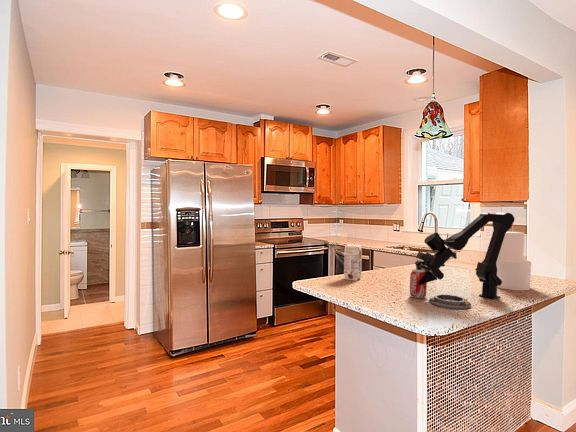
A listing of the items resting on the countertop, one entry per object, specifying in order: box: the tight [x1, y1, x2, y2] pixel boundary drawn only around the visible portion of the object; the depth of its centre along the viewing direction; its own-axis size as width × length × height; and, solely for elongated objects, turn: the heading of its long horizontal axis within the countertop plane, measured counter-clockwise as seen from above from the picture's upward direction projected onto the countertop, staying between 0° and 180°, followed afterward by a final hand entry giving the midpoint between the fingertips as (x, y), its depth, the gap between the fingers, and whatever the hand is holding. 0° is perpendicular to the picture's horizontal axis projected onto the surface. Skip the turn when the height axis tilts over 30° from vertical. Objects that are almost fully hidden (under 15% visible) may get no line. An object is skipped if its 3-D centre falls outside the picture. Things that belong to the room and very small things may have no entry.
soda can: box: [409, 268, 428, 299], centre depth 161 cm, size 7×7×12 cm
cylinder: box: [496, 231, 532, 291], centre depth 185 cm, size 17×17×28 cm
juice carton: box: [343, 243, 363, 282], centre depth 197 cm, size 8×9×19 cm
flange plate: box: [428, 293, 472, 310], centre depth 150 cm, size 16×16×4 cm
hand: (415, 282), depth 161 cm, fingers closed on soda can, 7 cm apart
